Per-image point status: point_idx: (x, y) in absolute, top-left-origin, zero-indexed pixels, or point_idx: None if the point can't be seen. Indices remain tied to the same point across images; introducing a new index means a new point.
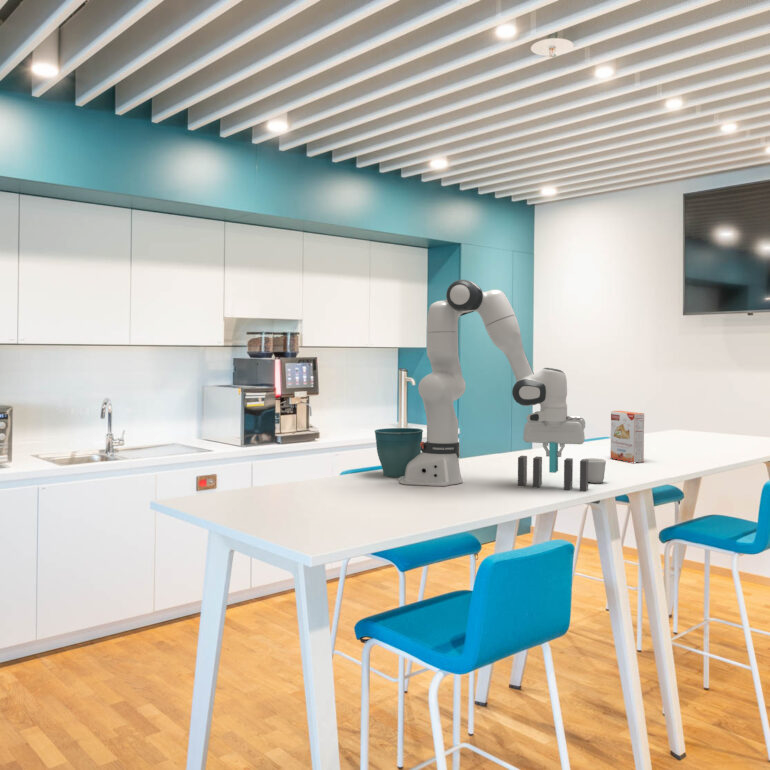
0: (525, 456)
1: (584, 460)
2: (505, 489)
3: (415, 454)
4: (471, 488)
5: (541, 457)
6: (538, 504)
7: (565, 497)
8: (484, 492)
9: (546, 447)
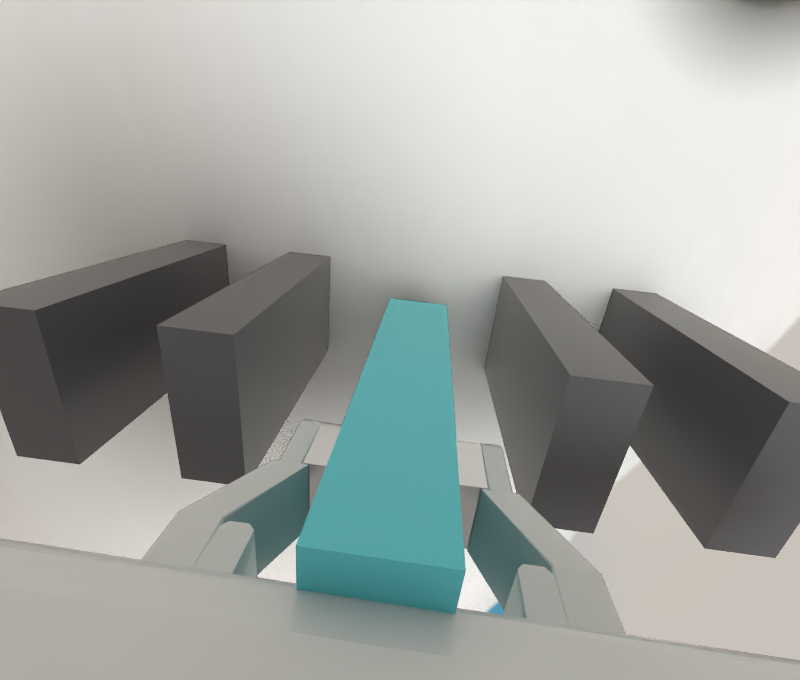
0: (45, 368)
1: (775, 506)
2: (171, 434)
3: None
4: (14, 448)
5: (238, 364)
6: None
7: None
8: (117, 518)
9: (256, 540)
